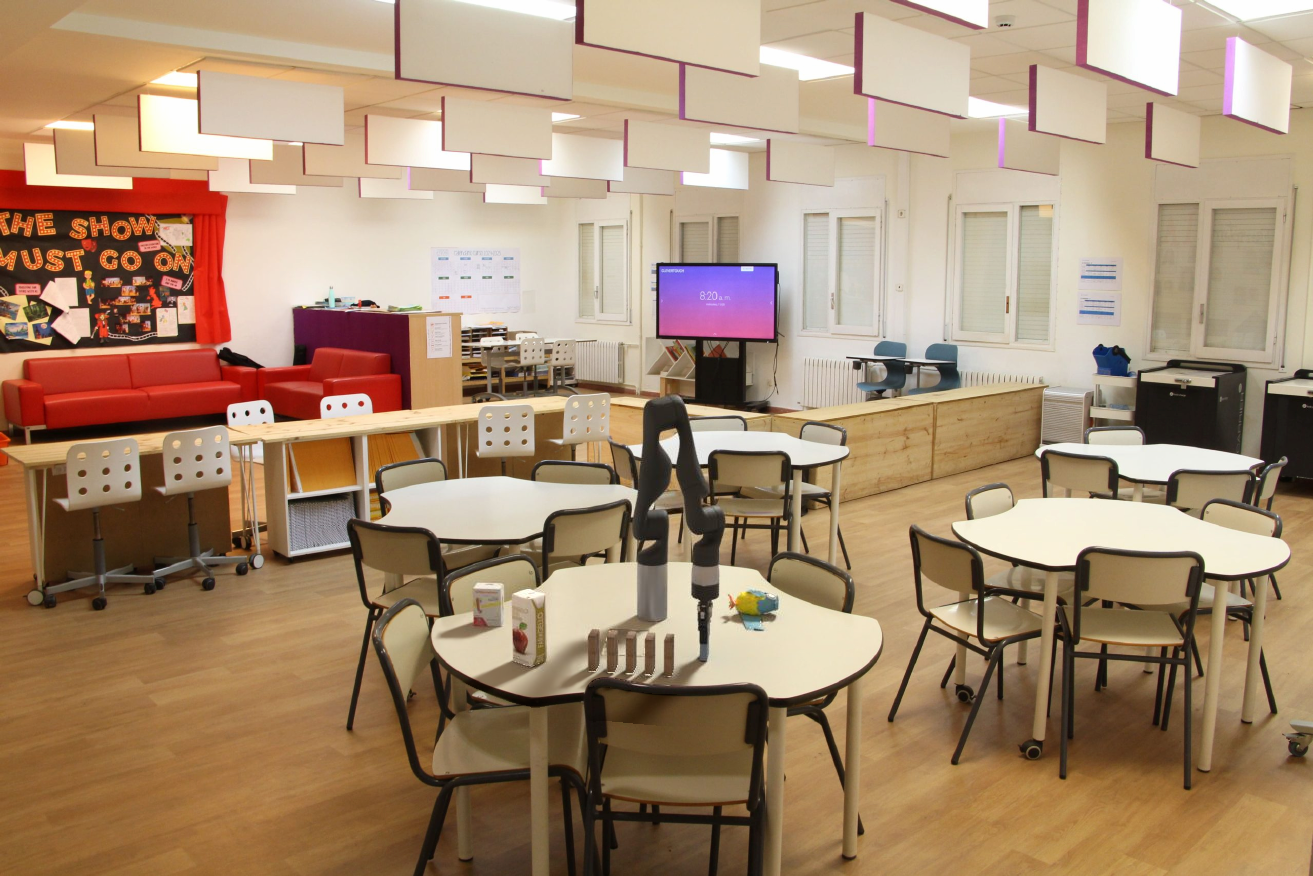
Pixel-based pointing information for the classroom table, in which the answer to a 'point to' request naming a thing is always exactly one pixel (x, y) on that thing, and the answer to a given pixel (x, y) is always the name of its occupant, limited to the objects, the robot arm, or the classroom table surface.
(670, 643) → the domino
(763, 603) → the toy airplane
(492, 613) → the ink box
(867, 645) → the classroom table surface
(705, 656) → the blue domino
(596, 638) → the domino
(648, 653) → the domino
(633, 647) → the domino
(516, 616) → the juice carton
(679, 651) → the classroom table surface
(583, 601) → the classroom table surface
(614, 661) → the domino
